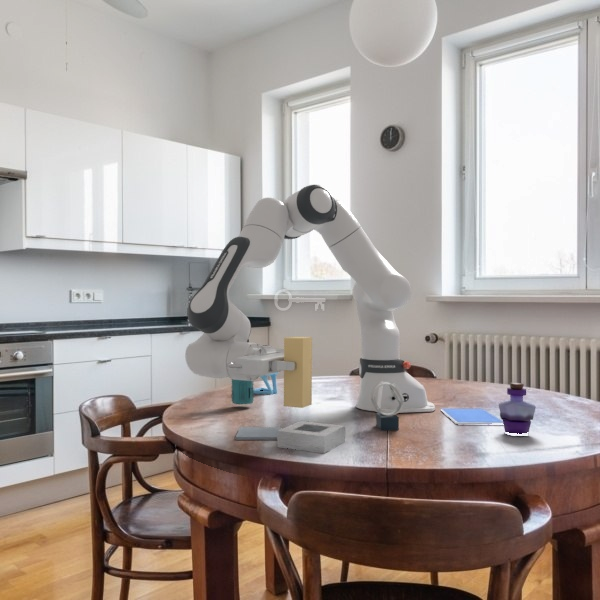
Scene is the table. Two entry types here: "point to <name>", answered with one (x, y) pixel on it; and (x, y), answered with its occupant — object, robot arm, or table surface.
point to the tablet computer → (470, 416)
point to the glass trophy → (388, 419)
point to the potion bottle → (516, 410)
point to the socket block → (311, 436)
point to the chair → (265, 390)
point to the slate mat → (257, 433)
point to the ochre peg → (298, 372)
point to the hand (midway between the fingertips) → (301, 364)
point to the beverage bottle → (242, 391)
